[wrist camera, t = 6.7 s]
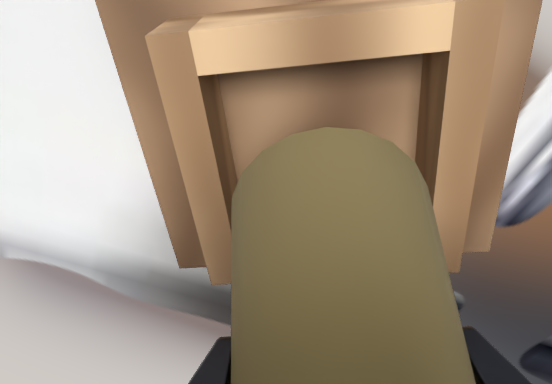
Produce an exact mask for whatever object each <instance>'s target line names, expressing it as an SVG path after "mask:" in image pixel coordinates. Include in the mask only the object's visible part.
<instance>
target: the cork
mask: <svg viewBox="0 0 552 384" xmlns="http://www.w3.org/2000/svg"><path fill="white" fill-rule="evenodd" d="M231 384H476V382H475V378H474V374H473V370H472V366H471V362H470V357H469V353H468V349H467V345H466V341H465V337H464V333H463V329H462V325H461V320H460V316H459V312H458V308H457V304H456V300H455V296H454V292H453V288H452V284H451V279H450V275H449V271H448V267H447V263H446V259H445V255H444V251H443V247H442V243H441V238H440V234H439V230H438V226H437V222H436V218H435V214H434V210H433V206H432V202H431V197H430V193H429V189H428V186H427V184H426V182H425V180H424V178H423V176H422V174H421V172H420V170H419V168H418V166H417V165H416V163H415V161H413V160H412V159H411V158H410V157H409V156H408V155H407V154H405V153H404V152H403V151H402V150H401V149H400V148H399V147H397V146H396V145H395V144H394V143H393V142H391V141H388V140H386V139H383V138H381V137H378V136H376V135H373V134H371V133H368V132H366V131H363V130H360V129H346V128H333V127H323V128H319V129H314V130H309V131H305V132H300V133H296V134H291V135H289V136H288V137H286V138H284V139H282V140H280V141H279V142H277V143H275V144H273V145H271V146H270V147H268V148H266V149H264V150H262V151H261V153H260V154H259V155H258V156H257V157H256V158H255V159H254V160H253V161H252V162H251V163H250V165H249V166H248V167H247V168H246V169H245V170H244V171H243V172H242V174H241V176H240V179H239V181H238V184H237V186H236V188H235V191H234V193H233V196H232V213H231Z"/></svg>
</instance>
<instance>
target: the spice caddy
mask: <svg viewBox="0 0 552 384" xmlns="http://www.w3.org/2000/svg"><path fill="white" fill-rule="evenodd" d="M95 2H96V5H97V8H98V11H99V15H100V18H101V21H102V24H103V27H104V30H105V34H106V37H107V40H108V43H109V46H110V49H111V53H112V56H113V59H114V62H115V65H116V68H117V72H118V75H119V78H120V81H121V84H122V87H123V91H124V94H125V97H126V100H127V103H128V106H129V110H130V113H131V116H132V119H133V122H134V125H135V128H136V132H137V135H138V138H139V141H140V144H141V147H142V151H143V154H144V157H145V160H146V163H147V166H148V170H149V173H150V176H151V179H152V182H153V185H154V189H155V192H156V195H157V198H158V201H159V204H160V208H161V211H162V214H163V217H164V220H165V223H166V227H167V230H168V233H169V236H170V239H171V242H172V246H173V249H174V252H175V255H176V258H177V261H178V265H179V268H196V267H207V270H208V274H209V277H210V281H211V285H222V284H231V213H232V196H233V193H234V191H235V188H236V186H237V184H238V181H239V179H240V176H241V174H242V172H243V171H244V170H245V169H246V168H247V167H248V166H249V165H250V163H251V162H252V161H253V160H254V159H255V158H256V157H257V156H258V155H259V154H260V153H261V151H262V150H264V149H266V148H268V147H270V146H271V145H273V144H275V143H277V142H279V141H280V140H282V139H284V138H286V137H288V136H289V135H291V134H296V133H300V132H305V131H309V130H314V129H319V128H323V127H333V128H346V129H360V130H363V131H366V132H368V133H371V134H373V135H376V136H378V137H381V138H383V139H386V140H388V141H391V142H393V143H394V144H395V145H396V146H397V147H399V148H400V149H401V150H402V151H403V152H404V153H405V154H407V155H408V156H409V157H410V158H411V159H412V160H413V161H415V163H416V165H417V166H418V168H419V170H420V172H421V174H422V176H423V178H424V180H425V182H426V184H427V186H428V189H429V193H430V197H431V202H432V206H433V210H434V214H435V218H436V222H437V226H438V230H439V234H440V238H441V243H442V247H443V251H444V255H445V259H446V263H447V267H448V271H449V273H456V272H460V266H461V260H462V254H463V253H467V252H485V251H489V250H490V245H491V241H492V236H493V232H494V227H495V222H496V218H497V213H498V208H499V203H500V199H501V194H502V189H503V184H504V180H505V175H506V170H507V166H508V161H509V156H510V151H511V147H512V142H513V137H514V133H515V128H516V123H517V118H518V114H519V109H520V104H521V99H522V94H523V90H524V85H525V81H526V76H527V71H528V66H529V62H530V57H531V52H532V48H533V42H534V38H535V33H536V29H537V24H538V19H539V14H540V10H541V5H542V0H95Z"/></svg>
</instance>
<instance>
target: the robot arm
mask: <svg viewBox="0 0 552 384" xmlns="http://www.w3.org/2000/svg"><path fill="white" fill-rule="evenodd" d="M462 329H463V333H464V337H465V341H466V345H467V349H468V353H469V357H470V362H471V366H472V370H473V374H474V378H475V382H476V384H532V383H531V382H530V381H529V380H528V379H527V378H526V377H525V376H524V375H523V374H522V373H521V372H520V371H519V370H518V369H516V368H515V367H514V366H513V365H512V364H511V363H510V362H509V361H508V360H507V359H506V358H505V357H504V356H503V355H502V354H501V353H500V352H499V351H498V350H497V349H496V348H495V347H494V346H493V345H492V344H491V343H490V342H489V341H487V339H486V338H484V337H483V336H482V335H481V334H480V333H479V332H478V331H477V330H476V329H475V328H473V327H470V326H465V327H462ZM188 384H231V337H220V338H219V339H217V341H216V342H215V344H214V345H213V347H212V348H211V350H210V351H209V353H208V354H207V356H206V357H205V359H204V360H203V362H202V363H201V365H200V366H199V368H198V369H197V371H196V372H195V374H194V375H193V377H192V379H191V380H190V382H189V383H188Z"/></svg>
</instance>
